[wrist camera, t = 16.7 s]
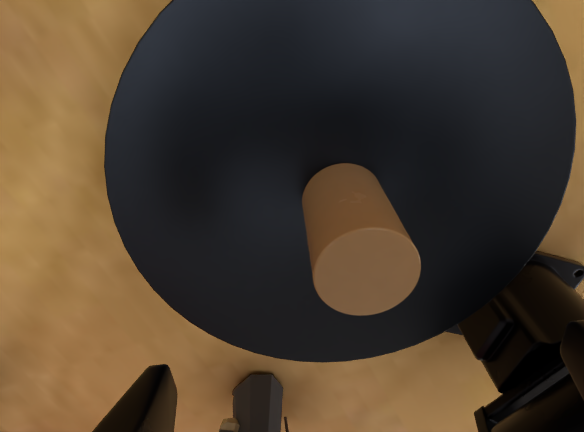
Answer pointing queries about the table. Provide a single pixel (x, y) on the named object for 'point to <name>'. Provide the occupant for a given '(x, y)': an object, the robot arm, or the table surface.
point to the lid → (338, 165)
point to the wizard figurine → (256, 406)
